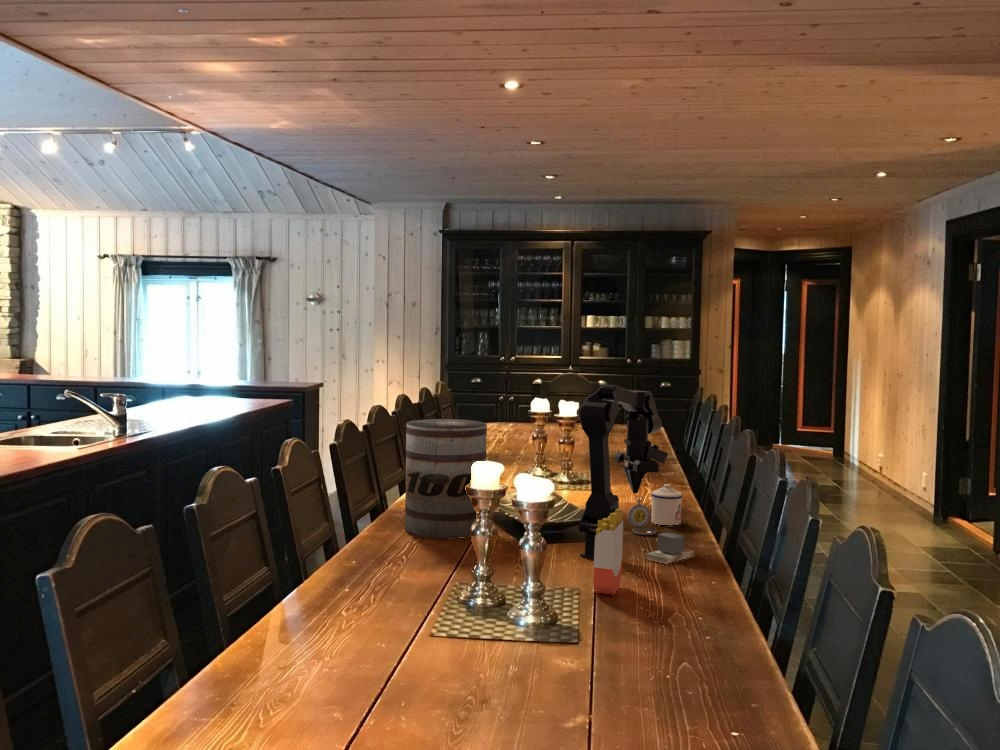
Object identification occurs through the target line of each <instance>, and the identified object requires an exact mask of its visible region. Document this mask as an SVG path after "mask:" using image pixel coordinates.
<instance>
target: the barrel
mask: <svg viewBox="0 0 1000 750" xmlns="http://www.w3.org/2000/svg"><path fill="white" fill-rule="evenodd" d="M487 432H488V425H487V423H486V422H484V421H483V422H482V421H478V420H470V419H454V418H449V419H448V418H436V419H435V418H431V419H416V420H409V421H407V422H406V433H405V434H406V437H405V439H406V440H405V441H406V442H405V444H406V447H405V448H406V449H405V502H404V506H405V508H404V509H405V511H404V513H405V514H404V522H405V523H404V531H405V532H406V533H407V534H408V533H409V534H408V535H410V534H411V535H410V536H413V535H414V537H417V536H419V537H418V538H421V537H424V538H423V539H429V538H430V539H429V540H449V539H448V538H459V537H468V536H469V537H470V528H471V525H472V523H473V522H474V521H475V519H476V511H475V510H474V508H473V506H472V502H471V499H470V497H469V496H468V495H467V493H466V490H465V486H466V485H467V484H469V483H470V480H471V466H472V464H473V463H474V462H476V461H486V462H487V443H488V442H487V441H488V438H487V437H488V436H487V435H488V433H487ZM470 538H471V537H470Z"/></svg>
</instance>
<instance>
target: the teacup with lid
mask: <svg viewBox="0 0 1000 750" xmlns="http://www.w3.org/2000/svg"><path fill="white" fill-rule="evenodd" d="M651 497H652V498H651V517H650V518H651V521H650V522H651V523H652V524H653V523H654V525H656V524H658V525H657V526H660V525H669V526H668V527H671V526H670V525H678V526H680V525H681V524H682V503H683V502H682V500H683V497H684V496H683V494H682V492H680V491H678V490H676V489H675V488H674V487H672V486H671V484H669V483H664V485H663V486H662V487H660V488H659V489H655V490H653V491H652V492H651ZM679 524H680V525H679Z"/></svg>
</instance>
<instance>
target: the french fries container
mask: <svg viewBox="0 0 1000 750" xmlns="http://www.w3.org/2000/svg"><path fill="white" fill-rule="evenodd" d="M623 511H624V510H623V508H619V509H615V512H613V513H610V516H609V517H608V518H603V519H602V520H598V525H597V526H598V528H597V529H596V536H595V551H594V560H593V579H592V581H593V583H592V584H593V585H592V586H593V590H594V592H595V594H600V593H602V594H601V595H608V594H611V596H615V595H616V593H617V592H618V590H619V589H618V588H620V585H621V579H622V572H623V571H622V569H623V541H624V540H623V539H624V538H623V537H624V536H623V535H624V520H623ZM616 591H617V592H616ZM614 594H615V595H614Z"/></svg>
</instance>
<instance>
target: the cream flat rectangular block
mask: <svg viewBox="0 0 1000 750" xmlns="http://www.w3.org/2000/svg"><path fill="white" fill-rule="evenodd" d="M693 556H694V557H695V550H693V549H689V548H685V547H684V550H683V552H680V553H676V554H671V553H667V552H663V551H660V550H654V551H651V552H648V553H645V560H646V559H648V560H647V561H649V560H652V561H651V562H653V561H655V562H654V563H656V562H659V563H658V564H660V563H664V564H666V565H668V564H667V563H670V562H674V563H676V562H675V561H677V562H680V561H679V560H681V561H683V560H682V559H685V560H687V559H686V558H689V559H691V558H690V557H692V558H694V557H693ZM664 564H663V565H664ZM670 564H671V563H670Z"/></svg>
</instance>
